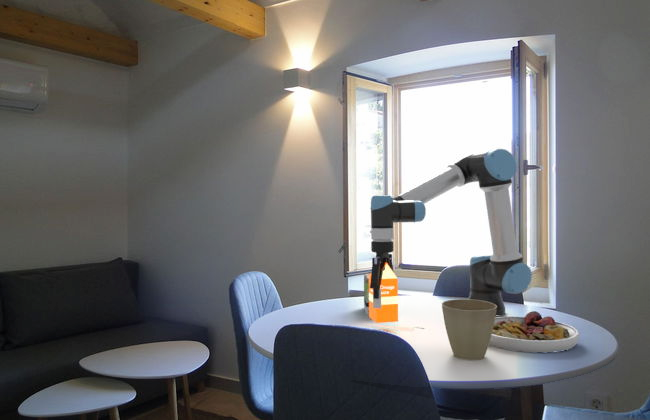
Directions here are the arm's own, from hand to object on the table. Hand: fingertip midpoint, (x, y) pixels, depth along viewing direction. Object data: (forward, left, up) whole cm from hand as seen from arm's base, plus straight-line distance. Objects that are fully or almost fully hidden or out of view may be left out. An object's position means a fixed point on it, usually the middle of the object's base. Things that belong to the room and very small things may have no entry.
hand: (382, 304), depth 175 cm
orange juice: (0, 0, -5) cm, 5 cm away
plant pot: (-32, +19, -10) cm, 39 cm away
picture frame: (0, 0, -10) cm, 10 cm away
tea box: (+13, -30, -10) cm, 34 cm away
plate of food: (-45, -6, -10) cm, 47 cm away
